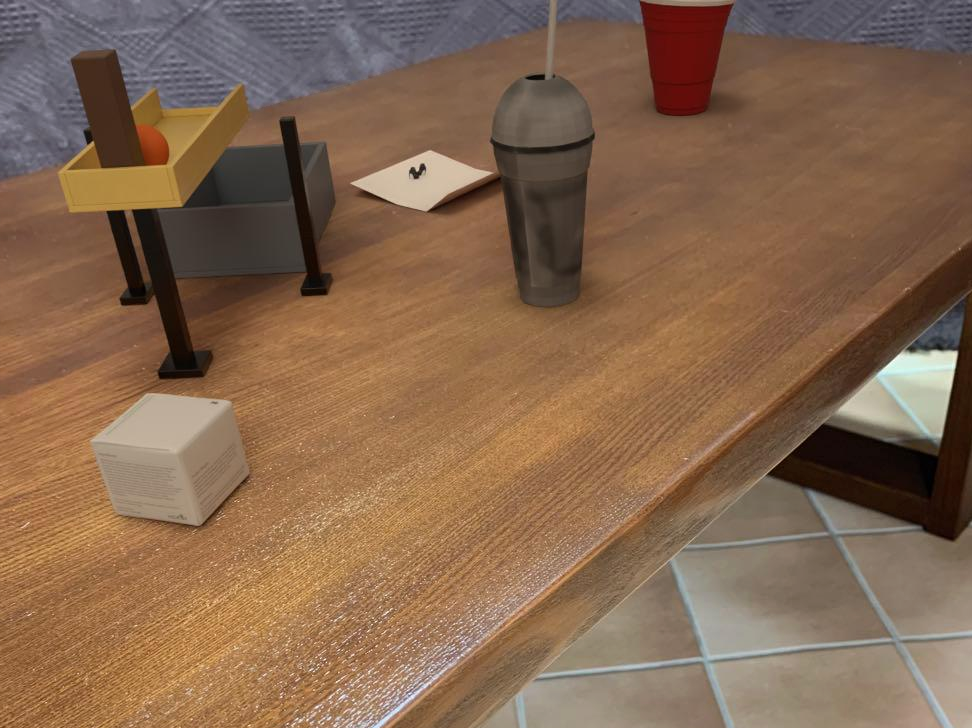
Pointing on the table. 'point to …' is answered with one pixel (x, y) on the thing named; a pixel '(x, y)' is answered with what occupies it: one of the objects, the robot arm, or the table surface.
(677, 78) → the plastic cup
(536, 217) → the beverage cup
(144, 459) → the small box
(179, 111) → the trough
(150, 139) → the toy ball
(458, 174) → the folded paper
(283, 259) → the bin
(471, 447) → the table surface
